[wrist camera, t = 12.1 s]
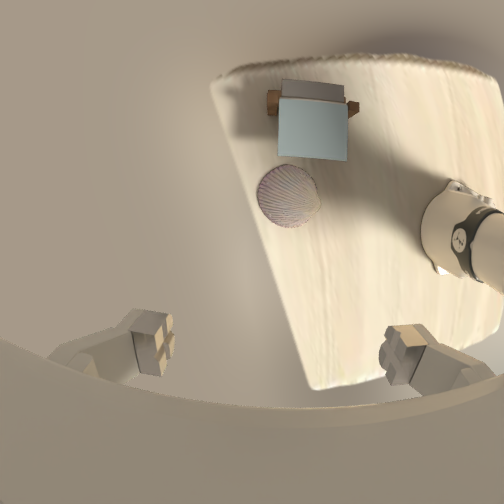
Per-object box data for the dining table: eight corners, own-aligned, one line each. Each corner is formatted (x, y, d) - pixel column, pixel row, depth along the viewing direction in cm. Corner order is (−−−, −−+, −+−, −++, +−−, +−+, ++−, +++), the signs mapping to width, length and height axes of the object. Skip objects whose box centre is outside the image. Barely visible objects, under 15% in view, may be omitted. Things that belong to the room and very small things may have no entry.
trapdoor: (339, 93, 35) (347, 85, 31) (338, 162, 38) (346, 161, 34) (278, 88, 36) (279, 77, 31) (276, 157, 39) (277, 155, 34)
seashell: (316, 239, 43) (255, 226, 40) (305, 229, 48) (250, 218, 46) (334, 177, 39) (272, 159, 37) (321, 173, 44) (265, 158, 42)
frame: (343, 98, 38) (358, 84, 30) (343, 121, 39) (359, 111, 31) (268, 92, 39) (267, 75, 31) (267, 115, 40) (267, 102, 32)
